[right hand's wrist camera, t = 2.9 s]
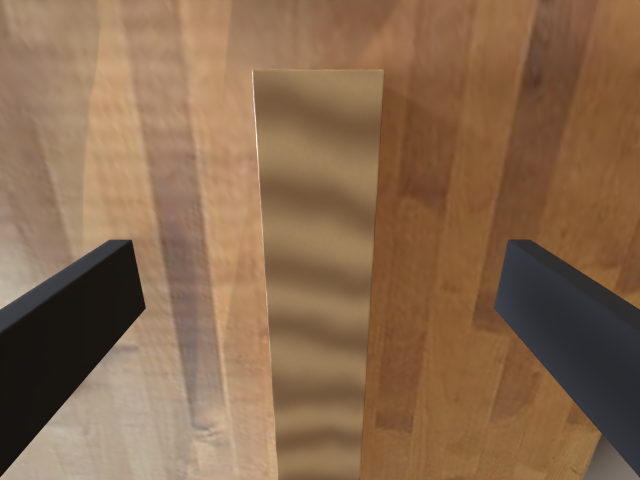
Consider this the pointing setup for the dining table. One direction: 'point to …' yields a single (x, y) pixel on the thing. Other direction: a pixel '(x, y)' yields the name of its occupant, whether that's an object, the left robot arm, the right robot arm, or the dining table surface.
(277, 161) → the thick board
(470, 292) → the dining table surface
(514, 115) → the dining table surface
